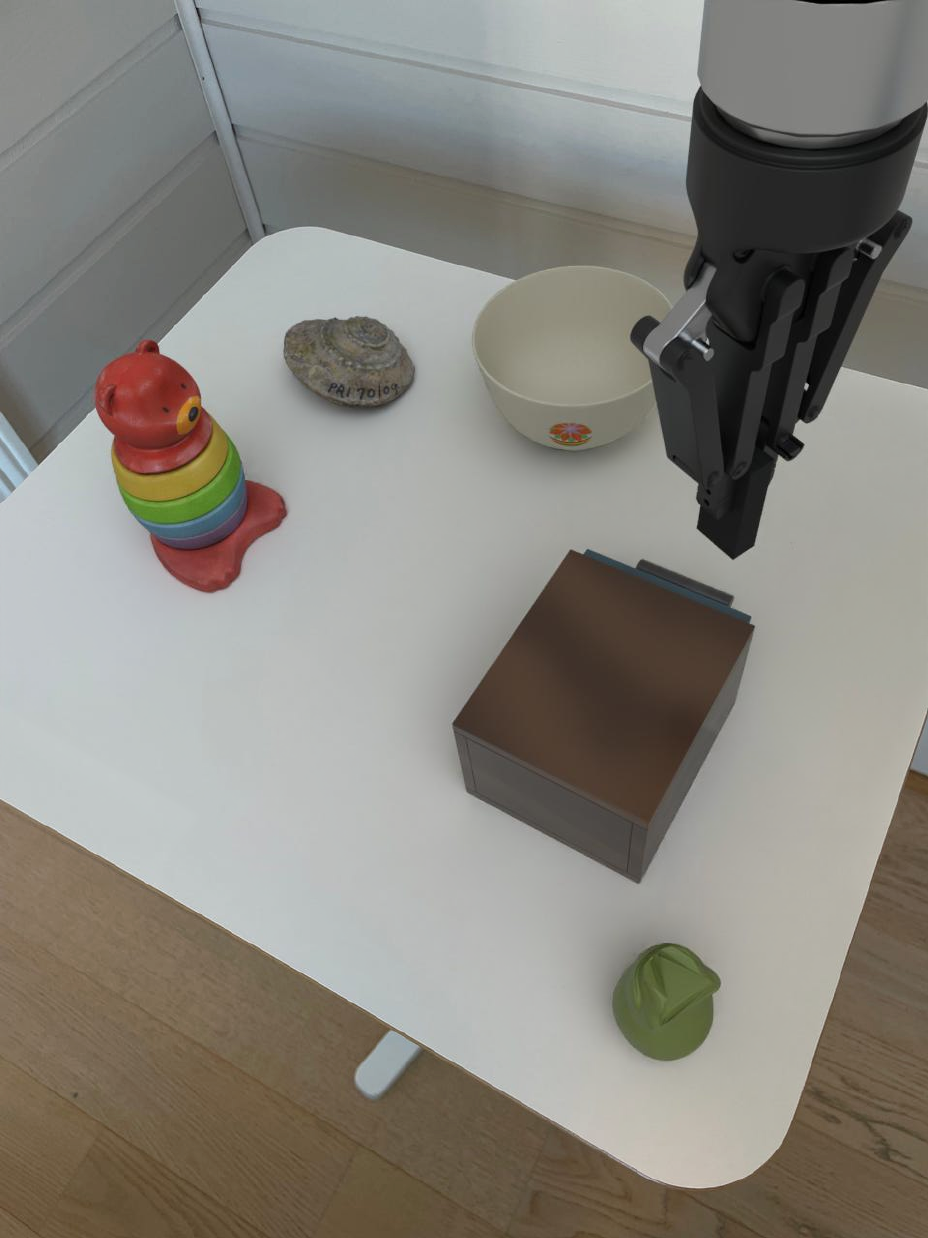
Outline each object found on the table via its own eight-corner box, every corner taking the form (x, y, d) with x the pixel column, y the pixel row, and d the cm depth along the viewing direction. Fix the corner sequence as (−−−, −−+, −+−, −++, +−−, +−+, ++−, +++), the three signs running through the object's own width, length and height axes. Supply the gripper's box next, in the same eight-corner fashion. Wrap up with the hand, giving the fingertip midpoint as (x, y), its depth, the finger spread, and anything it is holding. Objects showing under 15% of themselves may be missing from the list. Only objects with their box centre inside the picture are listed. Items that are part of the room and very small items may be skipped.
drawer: (612, 573, 75) (615, 504, 69) (759, 634, 71) (778, 568, 65) (491, 761, 68) (482, 704, 61) (648, 842, 64) (656, 791, 57)
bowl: (698, 387, 87) (711, 291, 78) (627, 519, 79) (632, 430, 71) (530, 341, 92) (526, 247, 84) (449, 461, 85) (435, 371, 76)
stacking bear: (219, 601, 79) (137, 441, 64) (122, 557, 82) (23, 396, 67) (297, 505, 83) (237, 335, 69) (202, 467, 87) (126, 298, 72)
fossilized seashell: (360, 427, 85) (333, 349, 81) (279, 419, 92) (250, 347, 88) (436, 371, 91) (414, 296, 87) (355, 367, 98) (331, 298, 94)
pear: (669, 953, 61) (683, 899, 52) (728, 1031, 58) (753, 987, 50) (594, 1007, 59) (597, 960, 51) (651, 1089, 57) (663, 1054, 48)
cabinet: (571, 629, 74) (570, 548, 66) (734, 703, 70) (755, 625, 61) (466, 792, 68) (451, 723, 60) (639, 884, 63) (648, 824, 55)
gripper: (864, -22, 36) (764, 437, 56) (583, 119, 33) (581, 556, 53) (1042, 53, 33) (869, 517, 52) (746, 222, 29) (679, 651, 49)
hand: (725, 536), depth 52 cm, fingers closed
